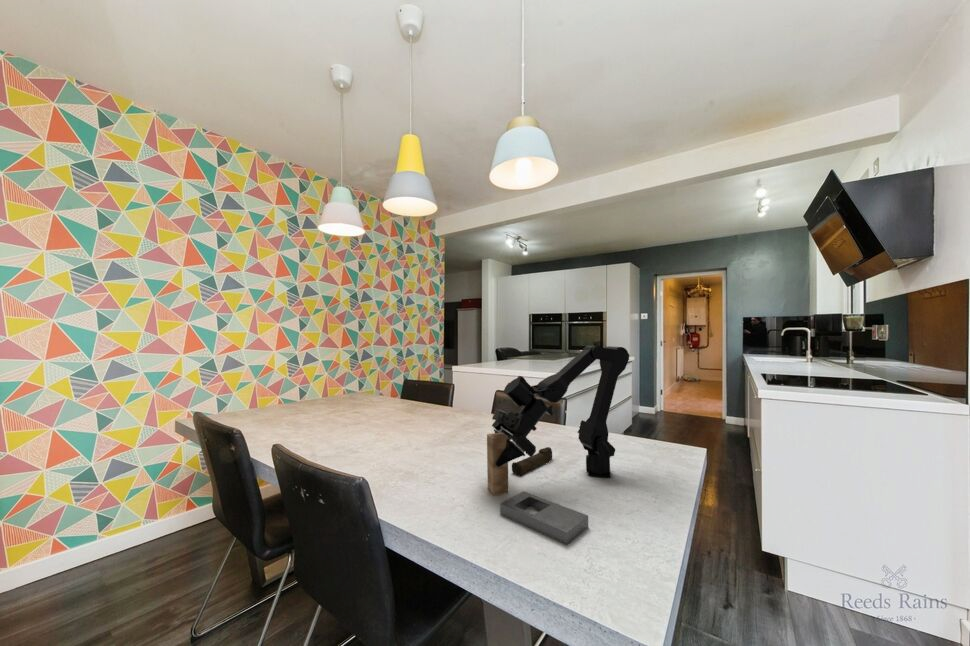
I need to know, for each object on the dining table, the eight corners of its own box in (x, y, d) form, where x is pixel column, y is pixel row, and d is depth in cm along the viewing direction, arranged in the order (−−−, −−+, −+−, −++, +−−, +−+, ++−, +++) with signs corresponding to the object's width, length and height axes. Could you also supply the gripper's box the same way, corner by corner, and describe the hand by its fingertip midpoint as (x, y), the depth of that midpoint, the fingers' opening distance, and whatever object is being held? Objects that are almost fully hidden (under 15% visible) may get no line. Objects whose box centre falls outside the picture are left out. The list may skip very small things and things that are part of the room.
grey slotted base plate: (500, 514, 84) (500, 503, 84) (523, 501, 91) (523, 491, 91) (567, 545, 72) (566, 532, 72) (588, 527, 78) (588, 515, 78)
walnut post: (502, 486, 100) (501, 432, 100) (508, 492, 95) (507, 436, 96) (487, 488, 98) (486, 434, 99) (493, 495, 94) (492, 438, 94)
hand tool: (520, 477, 106) (520, 462, 106) (511, 474, 109) (510, 458, 109) (558, 461, 118) (558, 447, 118) (549, 458, 121) (548, 445, 121)
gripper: (497, 393, 108) (463, 433, 104) (524, 404, 90) (483, 454, 86) (521, 416, 110) (488, 457, 106) (552, 432, 92) (514, 481, 88)
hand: (492, 461), depth 96 cm, fingers open, 6 cm apart
